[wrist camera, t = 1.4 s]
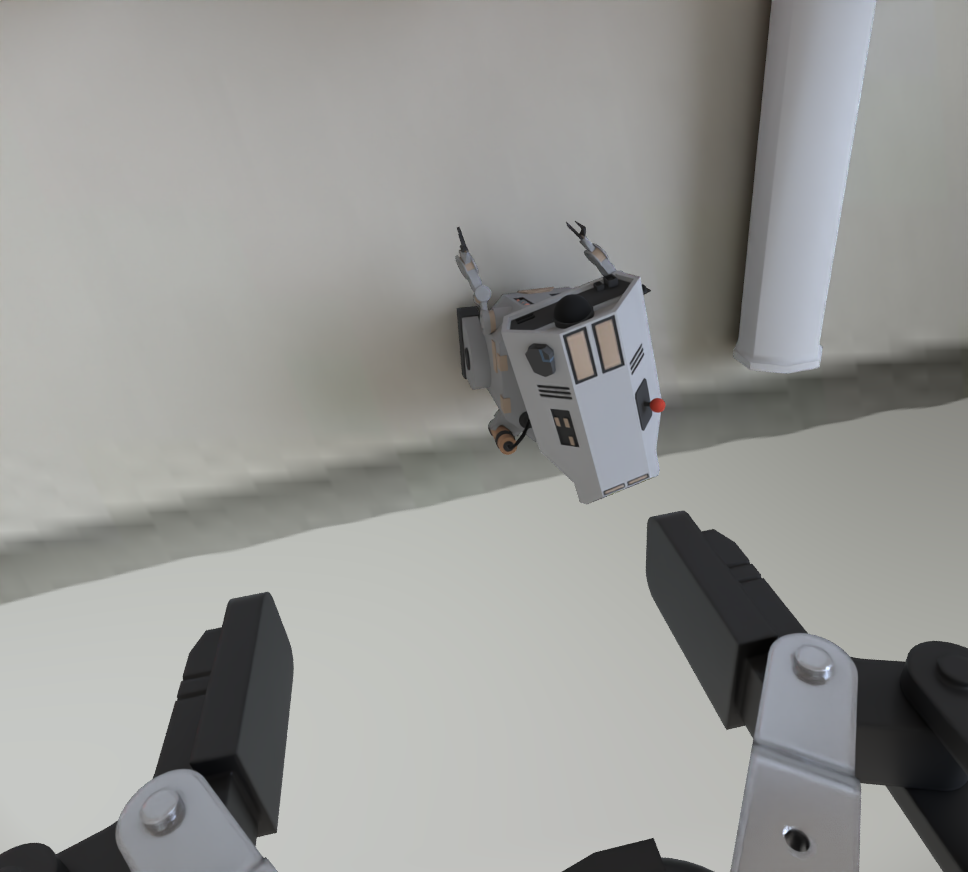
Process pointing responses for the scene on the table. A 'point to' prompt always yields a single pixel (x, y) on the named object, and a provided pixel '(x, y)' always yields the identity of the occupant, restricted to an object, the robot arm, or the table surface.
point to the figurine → (569, 373)
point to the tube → (800, 177)
